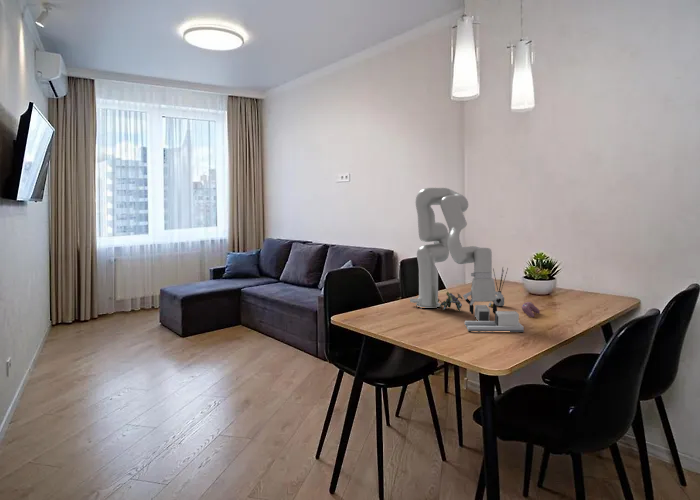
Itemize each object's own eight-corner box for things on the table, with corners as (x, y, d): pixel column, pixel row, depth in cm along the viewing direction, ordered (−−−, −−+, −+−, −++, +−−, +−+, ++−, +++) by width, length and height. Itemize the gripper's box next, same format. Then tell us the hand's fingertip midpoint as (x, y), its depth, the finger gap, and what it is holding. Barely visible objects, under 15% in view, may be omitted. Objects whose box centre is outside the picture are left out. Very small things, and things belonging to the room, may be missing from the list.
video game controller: (531, 315, 212) (525, 301, 214) (541, 312, 210) (534, 298, 211) (525, 320, 205) (518, 305, 206) (534, 317, 202) (527, 302, 203)
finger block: (474, 317, 205) (474, 305, 204) (485, 317, 205) (486, 305, 204) (478, 322, 197) (478, 309, 196) (489, 322, 196) (489, 309, 195)
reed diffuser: (504, 304, 229) (505, 265, 226) (512, 307, 222) (512, 267, 220) (486, 305, 226) (486, 266, 224) (493, 309, 220) (494, 268, 217)
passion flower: (458, 322, 218) (467, 305, 210) (437, 319, 216) (445, 302, 209) (454, 304, 226) (463, 288, 219) (434, 301, 225) (442, 285, 217)
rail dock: (468, 332, 183) (468, 315, 182) (464, 325, 193) (464, 309, 192) (523, 332, 181) (524, 315, 180) (517, 325, 191) (517, 309, 190)
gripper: (464, 277, 196) (464, 315, 197) (505, 276, 194) (505, 315, 195) (461, 274, 203) (462, 311, 205) (501, 273, 201) (501, 311, 203)
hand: (483, 313), depth 200 cm, fingers open, 9 cm apart
